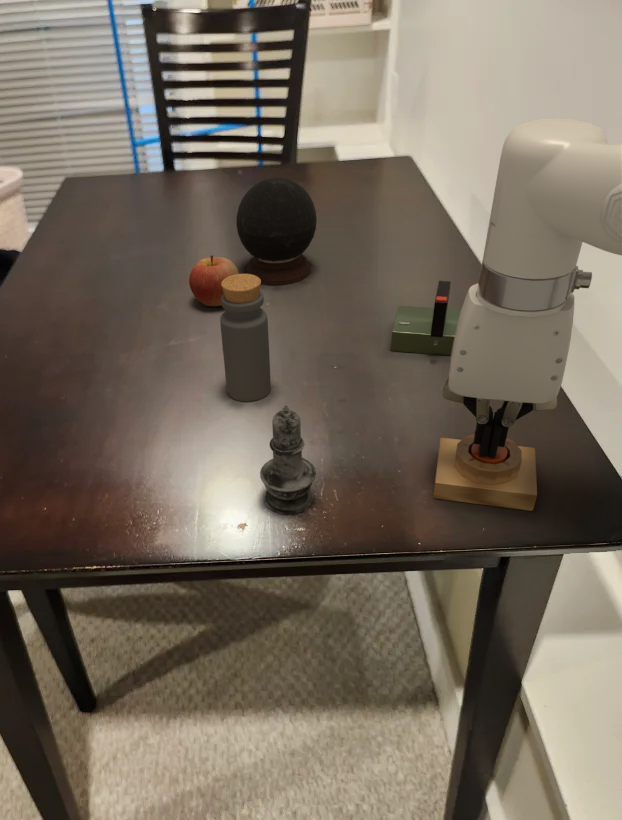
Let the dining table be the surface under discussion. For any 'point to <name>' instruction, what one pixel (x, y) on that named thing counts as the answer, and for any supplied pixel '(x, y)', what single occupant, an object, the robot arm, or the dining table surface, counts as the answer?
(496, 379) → the robot arm
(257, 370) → the bottle
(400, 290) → the dining table surface
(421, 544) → the dining table surface
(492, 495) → the button block
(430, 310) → the clamp panel
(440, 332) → the black block
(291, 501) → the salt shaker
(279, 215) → the black ball on stand
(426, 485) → the dining table surface
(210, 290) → the apple
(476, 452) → the button
